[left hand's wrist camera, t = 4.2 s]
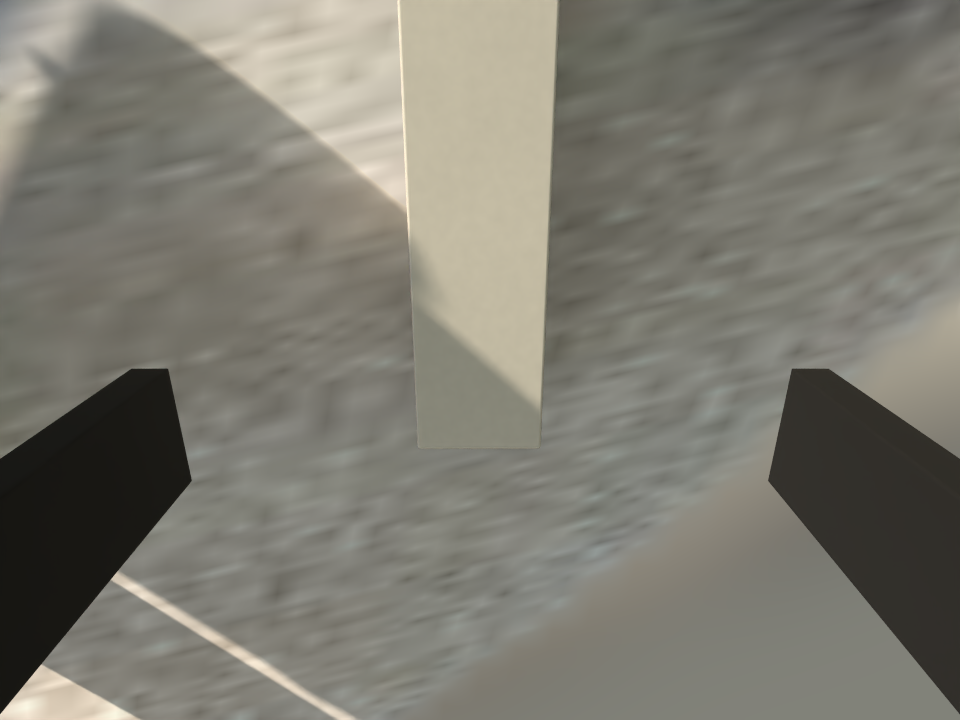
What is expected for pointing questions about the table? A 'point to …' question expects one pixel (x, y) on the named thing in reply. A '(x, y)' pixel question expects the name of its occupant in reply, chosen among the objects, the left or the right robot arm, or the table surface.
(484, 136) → the bar
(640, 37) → the table surface
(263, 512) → the table surface
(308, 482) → the table surface
